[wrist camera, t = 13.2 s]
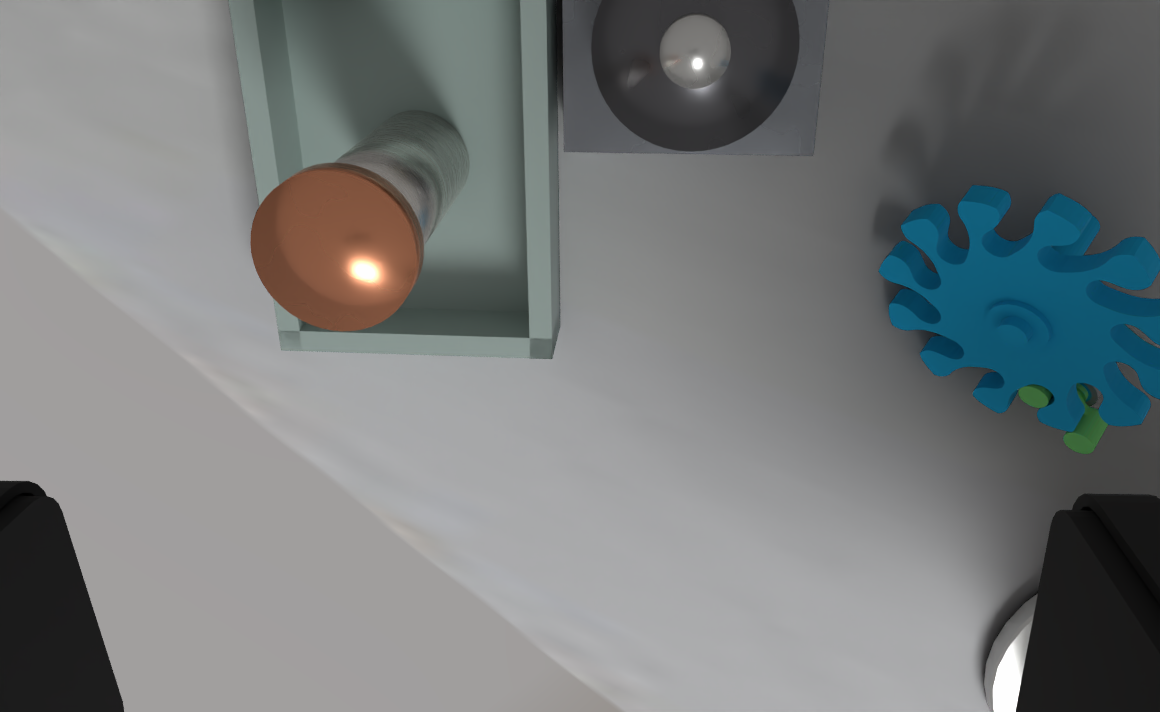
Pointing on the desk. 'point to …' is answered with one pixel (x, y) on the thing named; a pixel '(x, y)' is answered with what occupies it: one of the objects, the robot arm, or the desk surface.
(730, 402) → the desk surface
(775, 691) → the desk surface
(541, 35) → the tray
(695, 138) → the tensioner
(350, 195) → the pin
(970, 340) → the gear
